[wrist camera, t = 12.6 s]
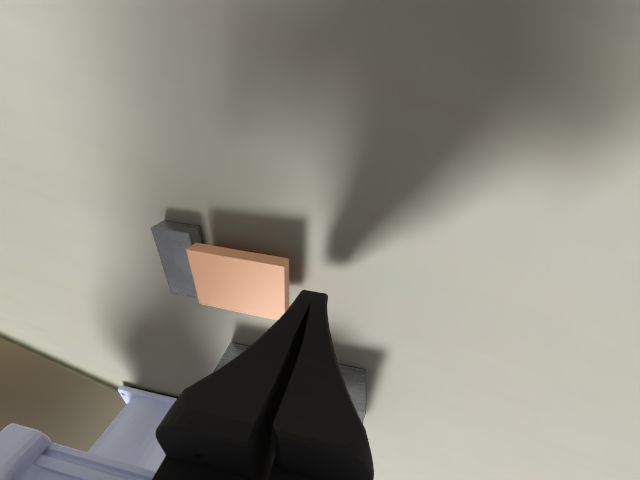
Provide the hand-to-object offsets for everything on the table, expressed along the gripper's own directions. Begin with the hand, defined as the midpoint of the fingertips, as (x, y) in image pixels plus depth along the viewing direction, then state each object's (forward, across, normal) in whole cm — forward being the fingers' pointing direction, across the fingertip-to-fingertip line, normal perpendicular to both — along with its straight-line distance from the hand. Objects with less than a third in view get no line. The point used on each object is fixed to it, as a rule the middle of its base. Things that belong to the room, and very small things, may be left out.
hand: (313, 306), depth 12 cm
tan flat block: (+1, +8, 0) cm, 8 cm away
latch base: (+2, +9, 0) cm, 9 cm away
